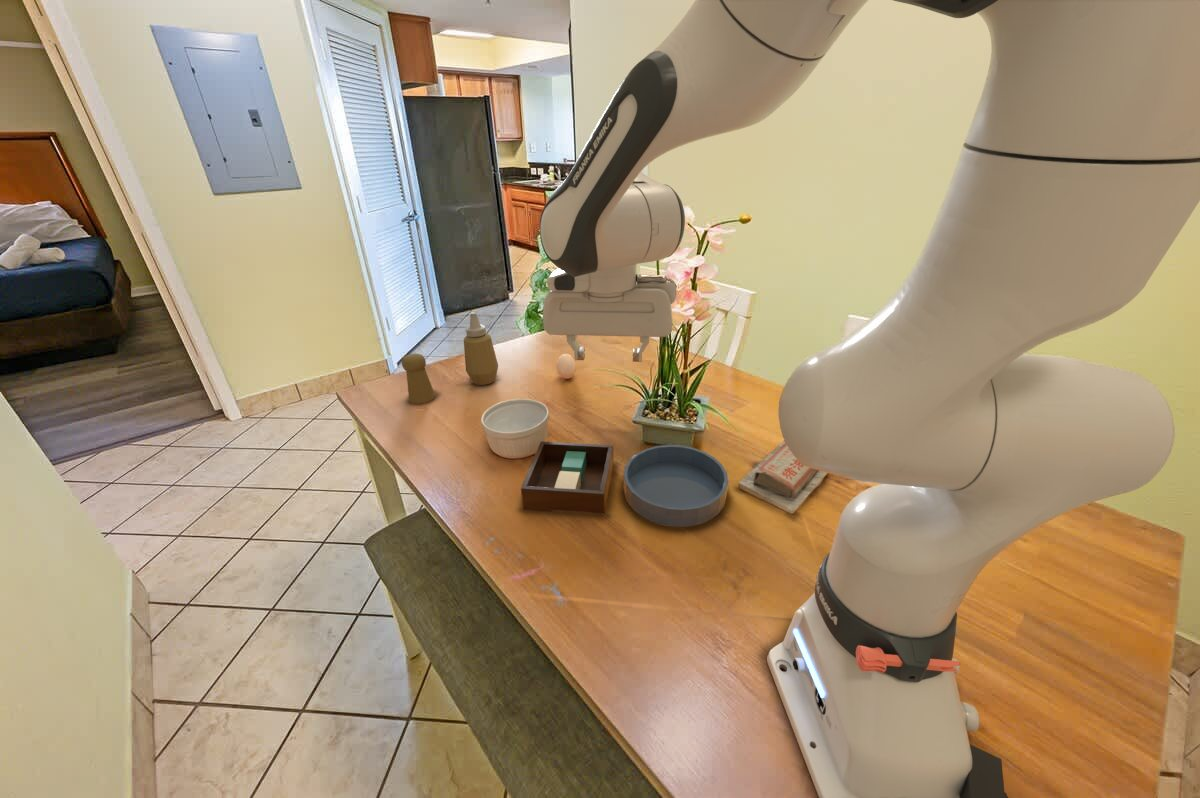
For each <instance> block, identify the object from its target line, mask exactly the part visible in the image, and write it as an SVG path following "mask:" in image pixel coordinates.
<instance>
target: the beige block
mask: <svg viewBox="0 0 1200 798" xmlns="http://www.w3.org/2000/svg"><path fill="white" fill-rule="evenodd" d="M580 487H581V479H580V472H570V471H560V472H559V475H558V478H557V481H556V484H555V487H554V488H565V489H580Z"/></svg>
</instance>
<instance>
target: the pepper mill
mask: <svg viewBox="0 0 1200 798" xmlns="http://www.w3.org/2000/svg"><path fill="white" fill-rule="evenodd" d="M426 364H427V363H426V358H425V356H423V354H420V353H410V354H406V355H404V357H403V358H402V360H401V367H402V368H403V370H404V371H406V381H407V392H408V401H409V402H410V403H411V404H415V405H421V404H426V403H429V402H431V401H433V400H434V399H435V397H436V393H435V390H434V388H433V385H432V383H431V380H430V377H429V375H428V373H427V370H426Z"/></svg>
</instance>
